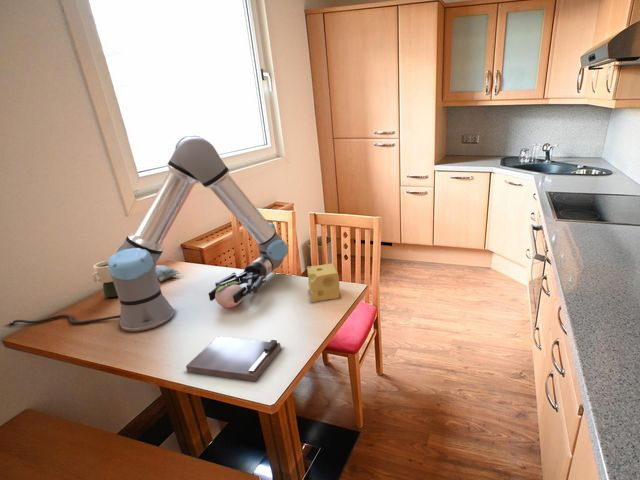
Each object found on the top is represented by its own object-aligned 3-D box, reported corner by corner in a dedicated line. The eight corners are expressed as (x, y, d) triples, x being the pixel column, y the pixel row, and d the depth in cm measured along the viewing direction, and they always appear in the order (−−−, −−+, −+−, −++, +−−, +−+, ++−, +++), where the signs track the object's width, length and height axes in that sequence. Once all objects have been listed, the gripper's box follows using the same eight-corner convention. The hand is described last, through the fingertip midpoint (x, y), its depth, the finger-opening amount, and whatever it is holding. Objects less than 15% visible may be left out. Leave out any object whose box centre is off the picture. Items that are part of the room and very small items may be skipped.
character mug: (122, 287, 150) (112, 257, 145) (135, 290, 147) (125, 259, 142) (94, 300, 140) (83, 268, 135) (107, 303, 138) (96, 270, 133)
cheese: (311, 303, 133) (308, 277, 129) (308, 289, 143) (305, 265, 139) (340, 298, 136) (338, 273, 132) (336, 285, 145) (334, 261, 141)
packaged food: (167, 270, 164) (164, 260, 162) (181, 277, 157) (178, 266, 155) (146, 278, 157) (142, 267, 155) (160, 285, 151) (157, 274, 149)
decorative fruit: (231, 316, 126) (226, 290, 122) (213, 311, 129) (208, 285, 126) (251, 303, 134) (247, 278, 130) (234, 299, 137) (229, 274, 134)
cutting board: (187, 372, 100) (184, 362, 99) (219, 341, 113) (217, 332, 112) (255, 381, 96) (253, 371, 95) (281, 348, 109) (279, 339, 107)
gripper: (284, 281, 145) (252, 310, 125) (235, 277, 150) (197, 305, 129) (281, 263, 142) (249, 290, 122) (231, 259, 147) (192, 285, 127)
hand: (222, 298), depth 126 cm, fingers closed on decorative fruit, 8 cm apart
